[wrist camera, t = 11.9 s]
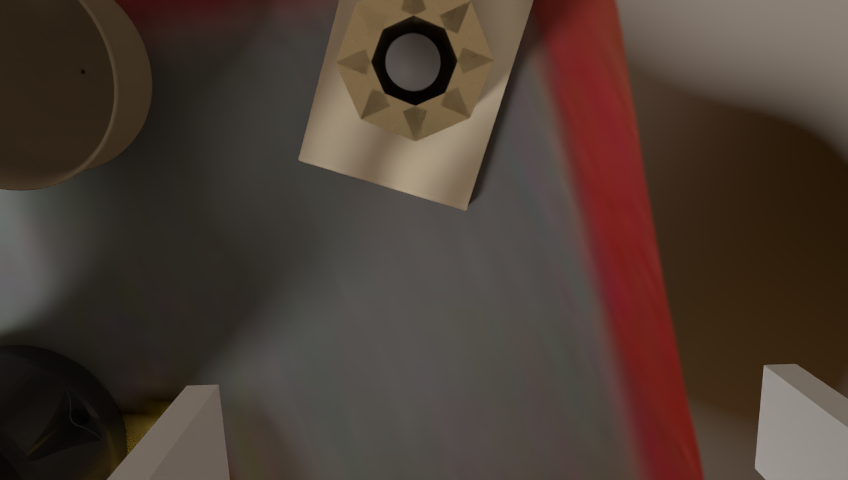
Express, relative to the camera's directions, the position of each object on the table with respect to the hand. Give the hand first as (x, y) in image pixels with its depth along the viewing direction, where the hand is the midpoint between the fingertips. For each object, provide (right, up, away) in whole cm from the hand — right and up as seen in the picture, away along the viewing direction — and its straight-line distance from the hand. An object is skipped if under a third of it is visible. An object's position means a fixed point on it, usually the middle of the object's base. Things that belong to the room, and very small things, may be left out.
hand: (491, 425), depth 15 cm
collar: (-2, +16, +24) cm, 29 cm away
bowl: (-24, +15, +27) cm, 39 cm away
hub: (-2, +16, +26) cm, 31 cm away
